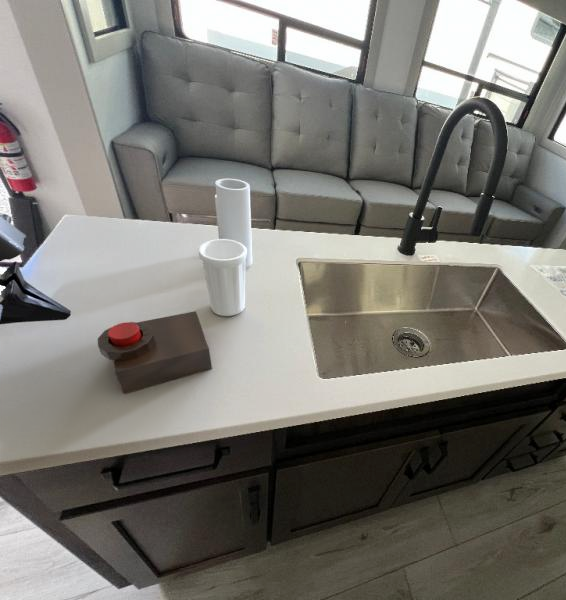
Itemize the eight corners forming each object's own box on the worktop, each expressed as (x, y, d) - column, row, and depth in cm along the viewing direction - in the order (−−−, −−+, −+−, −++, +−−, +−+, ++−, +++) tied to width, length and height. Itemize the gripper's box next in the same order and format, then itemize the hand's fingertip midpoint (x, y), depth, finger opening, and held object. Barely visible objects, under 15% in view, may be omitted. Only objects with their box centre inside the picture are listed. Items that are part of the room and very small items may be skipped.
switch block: (113, 397, 49) (99, 366, 45) (109, 351, 55) (96, 320, 51) (212, 368, 57) (207, 340, 53) (199, 331, 63) (194, 303, 59)
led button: (112, 349, 48) (108, 341, 47) (110, 333, 50) (107, 325, 49) (142, 343, 50) (140, 334, 49) (139, 328, 52) (137, 319, 51)
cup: (210, 295, 71) (202, 236, 63) (251, 296, 74) (248, 240, 65) (203, 320, 65) (193, 259, 57) (247, 320, 68) (244, 262, 59)
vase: (253, 268, 82) (251, 191, 70) (221, 269, 79) (212, 188, 67) (250, 245, 89) (247, 172, 78) (220, 245, 86) (212, 169, 75)
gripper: (-104, 245, 26) (117, 317, 38) (-53, 161, 36) (107, 239, 49) (-205, 343, 26) (49, 382, 39) (-125, 231, 36) (54, 291, 49)
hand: (68, 315), depth 44 cm, fingers closed
